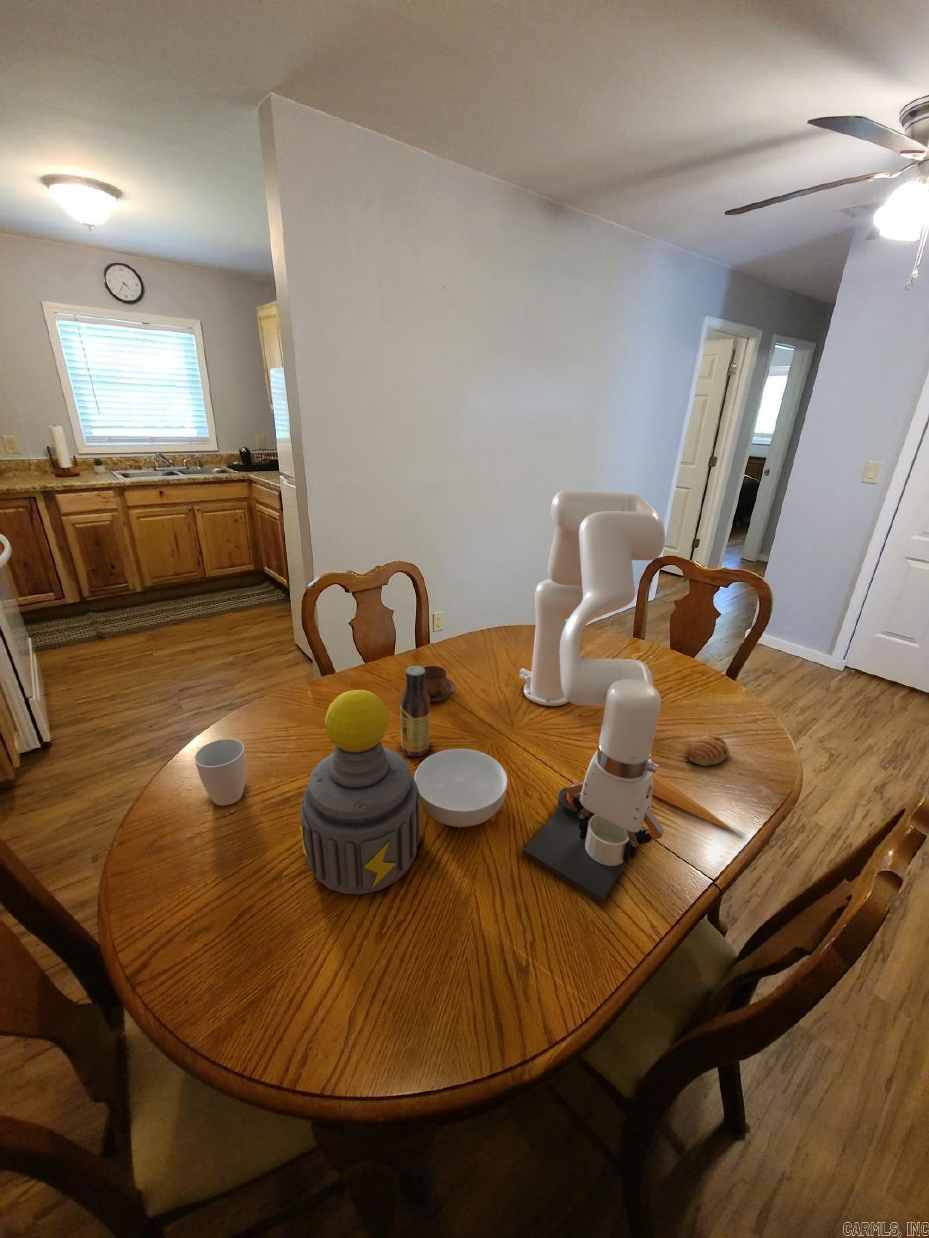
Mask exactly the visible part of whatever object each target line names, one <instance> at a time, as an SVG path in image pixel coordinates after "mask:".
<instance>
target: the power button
mask: <svg viewBox="0 0 929 1238" xmlns="http://www.w3.org/2000/svg"><path fill="white" fill-rule="evenodd" d="M579 793H580V795H581V792H579ZM566 800H567V801H568V803H569V804H571V805H573V806H574V804H573V802H572V801H573V800H572V799H571V797H570V796H569V794H568V792H567V799H566Z"/></svg>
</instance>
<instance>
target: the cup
mask: <svg viewBox="0 0 929 1238" xmlns="http://www.w3.org/2000/svg"><path fill="white" fill-rule="evenodd" d="M193 759H194V762H195V765H196V766H195V767H196V769H197V772H198V776H199V778H200V781H201V783H202V785H203V787H204V789H205V791H206V793H207V795H208V796H209V798H210V799H211V801H212V802H213V803H214V804H215V805H217V806H221V807H223V806H229V805H232V804H234V803H236V802H238V801H239V800H240V799H241V798H242V797H243V795H244V790H245V789H244V788H245V784H246V772H247V765H246V764H247V762H246V753H245V745H244V743H243V742H242V741H240V740H238V739H236V738H221V739H217V740H213V741H210V742H207V743H206V744H204V745H203V746H201V747H200V748H199V749H198V750H197V751H196V753H195V755H194V758H193Z"/></svg>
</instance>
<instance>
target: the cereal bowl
mask: <svg viewBox="0 0 929 1238" xmlns="http://www.w3.org/2000/svg"><path fill="white" fill-rule="evenodd" d="M413 777H414V780H415V782H416V784H417V787H418V790H419V794H420V804H421V807H422V811H423V812H425V814H426V815H428V817H430V818H431V819H433V820H434V821H436V822H438V823H439V824H442V825H445V826H449V827H455V828H466V827H468V828H469V827H474V826H478V825H481V824H482V823H484V822H486V821H488V820H490V818H493V817H494V815H496V813H497V812H498V811H499V810H500V809H501V807H502V806H503V804H504V801H505V799H506V795H507V791H508V782H509V781H508V775H507V773H506V771H505V768H504V767H503V766H502V765H501V763H500V762H499V761H498V760H496V759H495V758H493V757H492V756H490V755H488V754H486V753H484V752H482V751H478V750H474V749H469V748H450V749H444V750H440V751H438V752H435V753H433V754H430V755H429V756H427V757H426V758H425V759H424V760H423V761H422V762H421V763H419V765H418V767H417V768H416V770H415V773H414V776H413Z"/></svg>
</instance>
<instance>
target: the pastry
mask: <svg viewBox="0 0 929 1238" xmlns="http://www.w3.org/2000/svg"><path fill="white" fill-rule="evenodd" d="M730 754H731V752H730V750H729V747H728V744H727V742H726V741H725V739H723V738H722V737H720V736H718V735H713V734H706V735H704V736H702V737H700V738H697V739H696V740H695V741H694V742H693V743H692V744H691V746H690V748H689V752H688V760H689V761H691V762H693V763H695V764H697V765H700V766H703V767H708V766H714V765H718V764H719V763H721V762H722V761H725V760H726V759H727V758H728V757H729V756H730Z"/></svg>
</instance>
